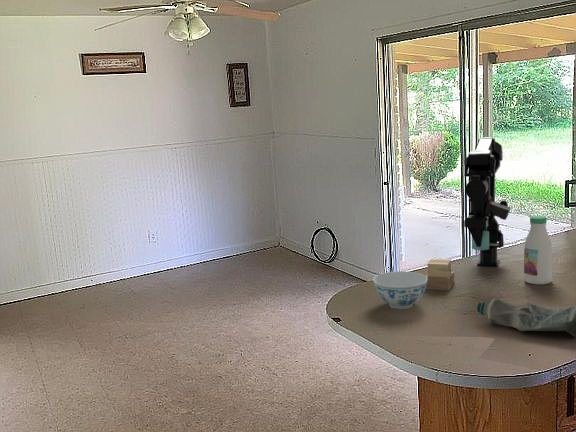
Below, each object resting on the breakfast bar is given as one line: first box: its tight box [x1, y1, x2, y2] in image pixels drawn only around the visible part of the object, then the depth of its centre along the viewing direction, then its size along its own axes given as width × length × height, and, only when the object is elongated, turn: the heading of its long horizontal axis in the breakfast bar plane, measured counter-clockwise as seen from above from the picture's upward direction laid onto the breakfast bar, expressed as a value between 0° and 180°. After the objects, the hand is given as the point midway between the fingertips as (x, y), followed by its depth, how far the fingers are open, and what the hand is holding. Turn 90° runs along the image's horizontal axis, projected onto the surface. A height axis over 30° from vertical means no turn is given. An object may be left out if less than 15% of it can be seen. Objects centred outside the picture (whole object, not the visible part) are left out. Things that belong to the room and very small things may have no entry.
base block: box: [424, 271, 455, 292], centre depth 186 cm, size 8×8×4 cm
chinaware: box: [372, 270, 428, 310], centre depth 171 cm, size 15×15×8 cm
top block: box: [427, 258, 452, 277], centre depth 186 cm, size 6×6×4 cm
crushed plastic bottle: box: [476, 297, 576, 338], centre depth 149 cm, size 13×7×25 cm
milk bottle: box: [523, 215, 553, 285], centre depth 183 cm, size 8×8×20 cm
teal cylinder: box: [471, 231, 489, 251], centre depth 184 cm, size 5×5×5 cm
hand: (480, 244), depth 184 cm, fingers closed on teal cylinder, 5 cm apart
